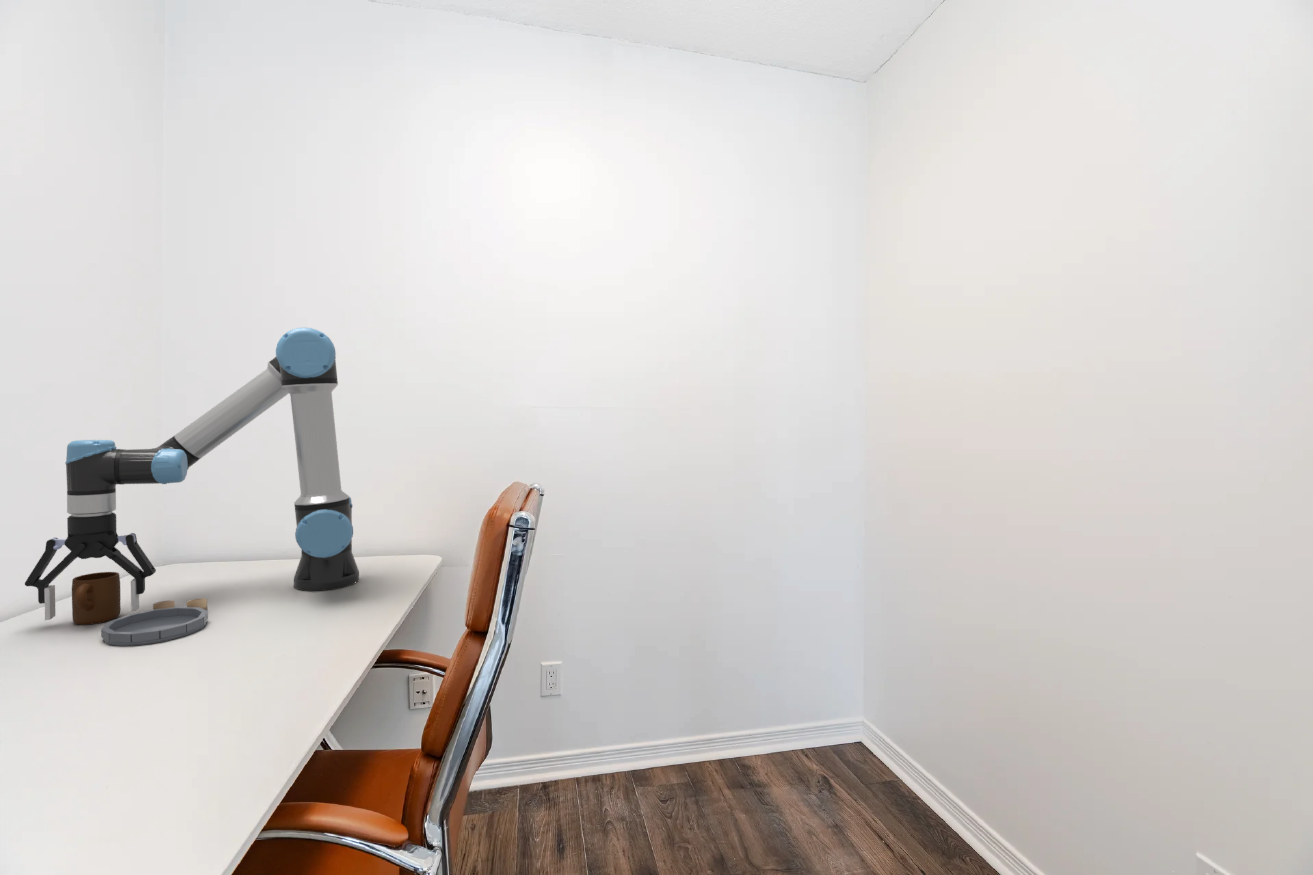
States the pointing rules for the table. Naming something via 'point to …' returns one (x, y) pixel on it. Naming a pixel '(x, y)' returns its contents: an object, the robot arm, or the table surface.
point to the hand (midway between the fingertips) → (93, 613)
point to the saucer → (154, 626)
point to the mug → (95, 598)
